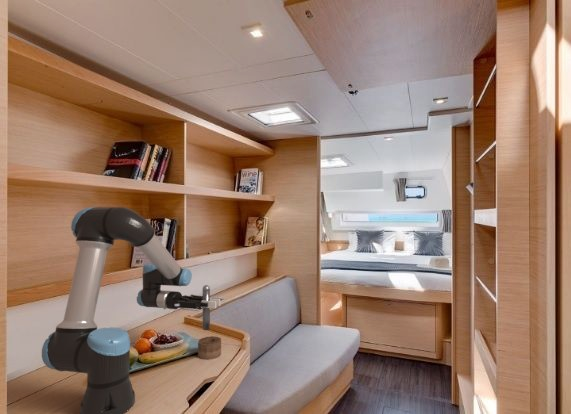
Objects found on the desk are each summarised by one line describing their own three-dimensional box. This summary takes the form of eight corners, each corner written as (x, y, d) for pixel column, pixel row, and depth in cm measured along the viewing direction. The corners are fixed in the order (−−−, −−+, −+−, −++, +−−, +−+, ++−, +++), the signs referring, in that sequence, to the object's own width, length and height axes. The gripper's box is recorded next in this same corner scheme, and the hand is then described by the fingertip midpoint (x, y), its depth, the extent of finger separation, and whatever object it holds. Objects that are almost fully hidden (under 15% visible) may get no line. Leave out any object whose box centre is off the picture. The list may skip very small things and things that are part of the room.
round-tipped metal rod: (207, 330, 135) (207, 286, 136) (201, 329, 136) (201, 285, 136) (211, 327, 138) (211, 284, 139) (205, 327, 139) (204, 284, 139)
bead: (214, 360, 133) (214, 346, 133) (193, 357, 136) (193, 343, 136) (224, 351, 142) (224, 337, 143) (205, 348, 145) (205, 335, 145)
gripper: (180, 303, 150) (226, 307, 143) (158, 313, 135) (208, 318, 128) (180, 287, 150) (226, 290, 144) (158, 295, 135) (208, 299, 128)
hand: (217, 303), depth 136 cm, fingers closed on round-tipped metal rod, 3 cm apart
